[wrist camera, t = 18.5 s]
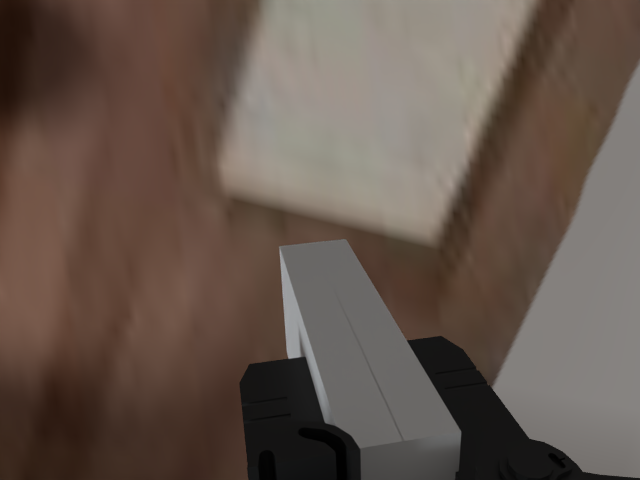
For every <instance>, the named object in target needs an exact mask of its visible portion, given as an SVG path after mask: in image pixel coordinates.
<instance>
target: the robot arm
mask: <svg viewBox="0 0 640 480" xmlns="http://www.w3.org/2000/svg"><path fill="white" fill-rule="evenodd" d="M279 247H280V261H281V275H282V289H283V303H284V317H285V331H286V345H287V354H288V358H289V359H283V360H276V361H269V362H262V363H254V364H249V366H248V368H247V370H246V372H245V374H244V376H243V378H242V379H241V381H240V393H241V402H242V412H243V422H244V432H245V442H246V452H247V462H248V467H247V470H248V479H249V480H640V478H631V477H619V476H607V475H598V474H592V473H586V472H582V470H581V469H580V468H579V467H578V465H577V464H576V463H574V461H572V460H571V459H570V458H569V457H568V456H567V455H566V454H565V453H563V452H562V451H560V450H558V449H556V448H554V447H553V446H551V445H549V444H546V443H545V442H541V441H536V440H532V439H529V438H528V436H527V435H526V434H525V432H524V431H523V430H522V428H521V427H520V426H519V424H518V423H517V422H516V420H515V419H514V418H513V416H512V415H511V413H510V412H509V411H508V409H507V408H506V407H505V405H504V404H503V403H502V402H501V400H500V399H499V397H498V396H497V395H496V393H495V392H494V391H493V389H492V388H491V387H490V385H489V386H488V385H487V381H486V380H485V379H484V377H483V376H482V375H481V373H480V372H479V371H477V370H476V366H475V365H474V364H473V362H472V361H471V360H470V358H469V357H468V356H467V354H466V353H465V352H464V350H463V349H461V348H460V347H458V346H456V345H455V344H453V343H452V342H450V341H448V340H447V339H445V338H443V337H442V336H437V337H430V338H423V339H415V340H408V341H407V340H406V339H405V337H404V335H403V334H402V332H401V330H400V329H399V327H398V325H397V324H396V322H395V320H394V319H393V317H392V315H391V314H390V312H389V310H388V309H387V307H386V305H385V304H384V302H383V300H382V299H381V297H380V295H379V294H378V292H377V290H376V289H375V287H374V285H373V284H372V282H371V280H370V279H369V277H368V275H367V274H366V272H365V270H364V269H363V267H362V265H361V264H360V262H359V260H358V259H357V257H356V255H355V254H354V252H353V250H352V249H351V247H350V245H349V244H348V242H347V240H346V239H342V240H333V241H324V242H314V243H305V244H296V245H287V246H279Z"/></svg>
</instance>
